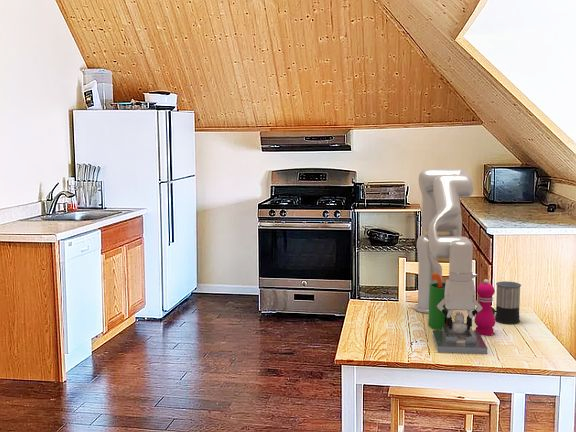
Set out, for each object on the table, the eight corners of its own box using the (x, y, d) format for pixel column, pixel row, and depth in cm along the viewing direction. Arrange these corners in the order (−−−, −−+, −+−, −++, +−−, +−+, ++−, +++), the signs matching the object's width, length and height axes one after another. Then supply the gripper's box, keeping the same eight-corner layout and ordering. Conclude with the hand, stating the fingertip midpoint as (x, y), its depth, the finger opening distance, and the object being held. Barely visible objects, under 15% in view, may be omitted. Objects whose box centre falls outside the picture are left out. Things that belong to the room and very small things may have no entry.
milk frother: (521, 325, 239) (523, 287, 238) (478, 323, 242) (479, 285, 240) (515, 315, 253) (516, 278, 252) (474, 313, 256) (475, 277, 254)
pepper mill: (470, 333, 230) (472, 279, 227) (479, 328, 235) (481, 276, 233) (489, 337, 225) (491, 282, 222) (498, 332, 230) (500, 279, 228)
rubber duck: (448, 333, 215) (449, 310, 215) (453, 328, 221) (454, 306, 220) (464, 336, 213) (465, 312, 212) (469, 330, 219) (470, 308, 218)
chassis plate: (432, 335, 228) (432, 323, 227) (478, 337, 225) (478, 324, 225) (437, 352, 210) (437, 339, 209) (487, 354, 208) (487, 340, 207)
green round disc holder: (453, 330, 233) (454, 277, 231) (428, 329, 235) (429, 276, 232) (451, 323, 243) (453, 271, 240) (427, 321, 245) (429, 271, 242)
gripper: (484, 274, 217) (482, 326, 220) (433, 273, 220) (432, 324, 222) (488, 279, 210) (486, 332, 212) (435, 278, 212) (434, 330, 214)
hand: (459, 327), depth 217 cm, fingers closed on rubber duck, 5 cm apart
